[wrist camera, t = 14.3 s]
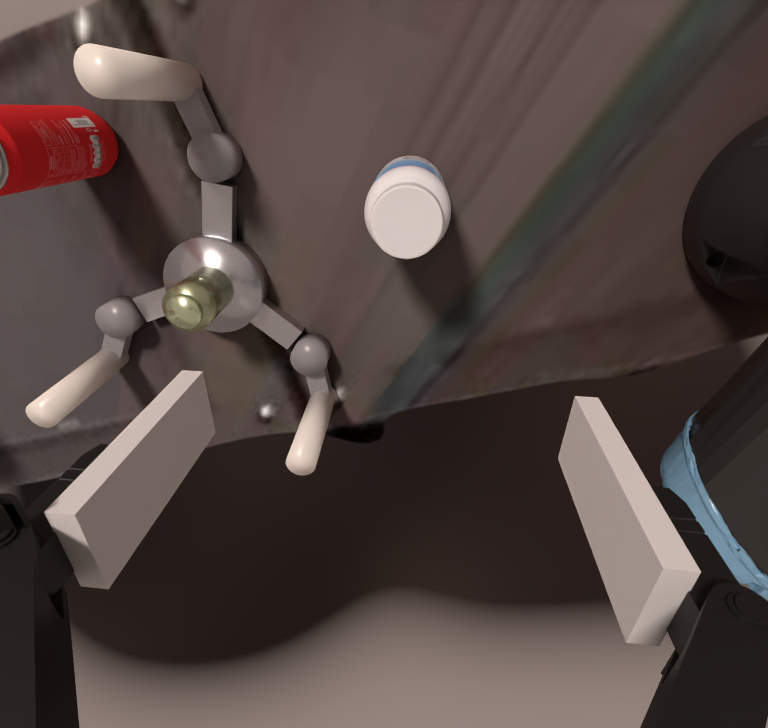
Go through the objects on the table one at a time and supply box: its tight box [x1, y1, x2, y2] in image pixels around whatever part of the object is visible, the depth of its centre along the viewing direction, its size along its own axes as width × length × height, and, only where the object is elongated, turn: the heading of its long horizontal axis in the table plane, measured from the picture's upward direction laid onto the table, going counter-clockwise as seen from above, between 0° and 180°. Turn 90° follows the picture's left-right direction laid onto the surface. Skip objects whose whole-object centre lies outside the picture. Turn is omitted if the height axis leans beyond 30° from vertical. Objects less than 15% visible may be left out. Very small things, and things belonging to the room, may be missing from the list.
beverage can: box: [0, 105, 119, 196], centre depth 32 cm, size 5×5×12 cm
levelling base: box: [132, 180, 305, 349], centre depth 38 cm, size 17×14×8 cm
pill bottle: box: [364, 156, 451, 259], centre depth 33 cm, size 6×6×11 cm
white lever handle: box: [74, 44, 243, 183], centre depth 31 cm, size 9×4×11 cm, turn 19°
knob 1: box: [26, 296, 146, 428], centre depth 41 cm, size 9×4×11 cm, turn 152°
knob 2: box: [286, 333, 336, 475], centre depth 42 cm, size 9×4×11 cm, turn 8°
